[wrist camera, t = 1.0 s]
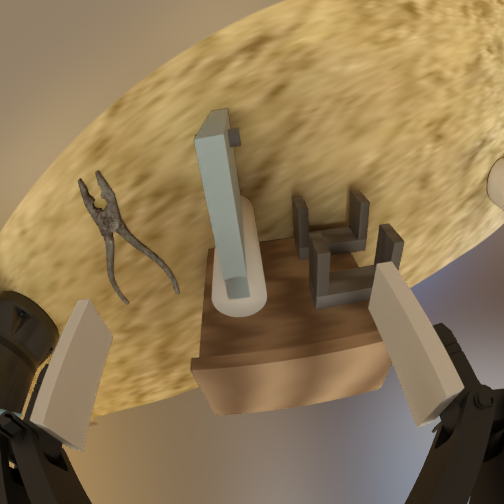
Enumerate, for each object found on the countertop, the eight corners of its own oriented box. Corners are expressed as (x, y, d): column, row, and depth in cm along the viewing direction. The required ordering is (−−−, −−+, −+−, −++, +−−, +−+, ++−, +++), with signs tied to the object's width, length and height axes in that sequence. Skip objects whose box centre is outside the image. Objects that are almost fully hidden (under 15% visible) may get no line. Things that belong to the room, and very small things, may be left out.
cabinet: (217, 300, 40) (215, 415, 26) (193, 205, 32) (167, 324, 17) (346, 281, 40) (391, 385, 25) (354, 185, 31) (435, 281, 17)
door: (221, 229, 34) (217, 319, 22) (199, 112, 26) (172, 143, 14) (255, 224, 33) (269, 313, 22) (239, 106, 26) (246, 131, 14)
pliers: (133, 313, 40) (45, 207, 29) (134, 309, 41) (48, 204, 30) (186, 292, 38) (95, 166, 27) (186, 288, 39) (98, 164, 28)
